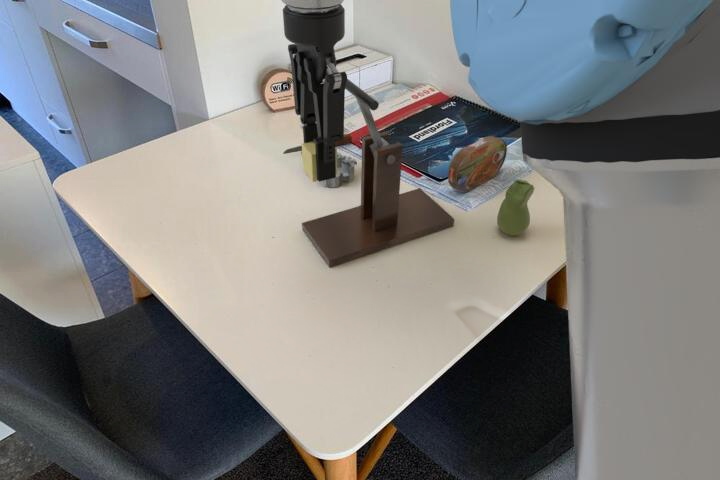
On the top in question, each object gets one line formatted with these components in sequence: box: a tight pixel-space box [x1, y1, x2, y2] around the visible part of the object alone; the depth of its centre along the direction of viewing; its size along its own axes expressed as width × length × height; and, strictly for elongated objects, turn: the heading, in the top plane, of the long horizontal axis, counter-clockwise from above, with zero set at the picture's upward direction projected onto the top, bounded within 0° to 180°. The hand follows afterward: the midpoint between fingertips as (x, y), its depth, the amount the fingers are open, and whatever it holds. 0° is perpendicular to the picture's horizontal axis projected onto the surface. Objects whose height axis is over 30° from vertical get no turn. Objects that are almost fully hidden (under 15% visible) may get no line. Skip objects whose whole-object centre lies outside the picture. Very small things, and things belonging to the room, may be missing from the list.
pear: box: [496, 179, 535, 236], centre depth 87 cm, size 6×5×10 cm
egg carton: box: [300, 151, 358, 188], centre depth 103 cm, size 11×8×4 cm
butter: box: [301, 141, 338, 182], centre depth 77 cm, size 4×4×4 cm
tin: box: [447, 135, 508, 193], centre depth 100 cm, size 15×3×8 cm, turn 131°
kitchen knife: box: [282, 133, 353, 155], centre depth 111 cm, size 16×1×2 cm, turn 116°
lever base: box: [301, 131, 455, 268], centre depth 85 cm, size 24×11×17 cm, turn 118°
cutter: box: [345, 78, 390, 156], centre depth 77 cm, size 13×9×2 cm
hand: (320, 171), depth 78 cm, fingers closed on butter, 4 cm apart
